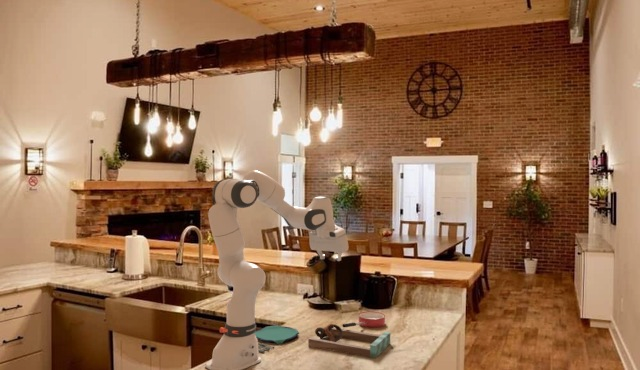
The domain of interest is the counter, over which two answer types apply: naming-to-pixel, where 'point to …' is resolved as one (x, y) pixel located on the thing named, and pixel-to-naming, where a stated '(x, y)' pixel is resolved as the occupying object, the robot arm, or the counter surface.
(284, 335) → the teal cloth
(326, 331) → the dark brown looped piece
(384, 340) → the guide
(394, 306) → the counter surface
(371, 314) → the frying pan
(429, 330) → the counter surface
